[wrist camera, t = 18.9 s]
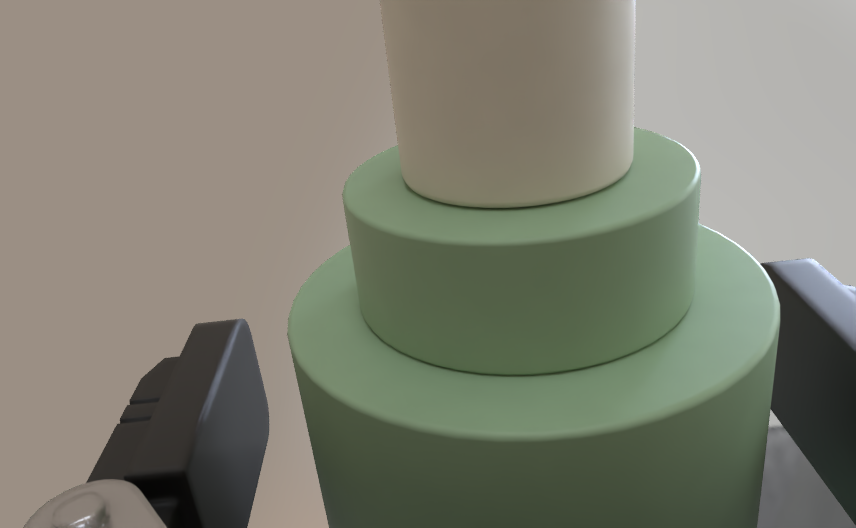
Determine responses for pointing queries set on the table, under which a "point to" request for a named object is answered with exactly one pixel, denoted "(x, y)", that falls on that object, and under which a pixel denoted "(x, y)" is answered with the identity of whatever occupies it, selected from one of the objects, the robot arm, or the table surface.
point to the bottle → (531, 296)
